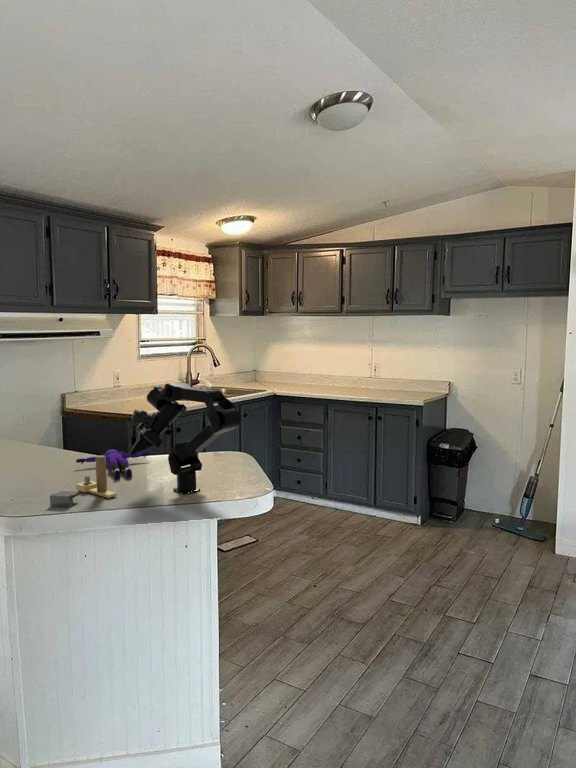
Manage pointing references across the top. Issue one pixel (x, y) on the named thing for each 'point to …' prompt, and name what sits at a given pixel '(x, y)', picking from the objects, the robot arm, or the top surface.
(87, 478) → the peg
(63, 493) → the keeper
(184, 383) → the robot arm
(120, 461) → the toy
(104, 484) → the link
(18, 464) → the top surface
